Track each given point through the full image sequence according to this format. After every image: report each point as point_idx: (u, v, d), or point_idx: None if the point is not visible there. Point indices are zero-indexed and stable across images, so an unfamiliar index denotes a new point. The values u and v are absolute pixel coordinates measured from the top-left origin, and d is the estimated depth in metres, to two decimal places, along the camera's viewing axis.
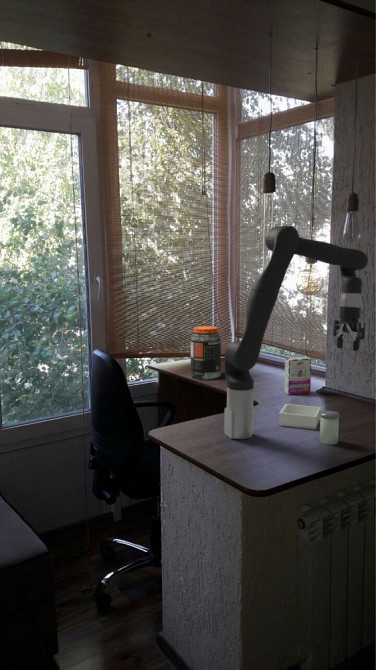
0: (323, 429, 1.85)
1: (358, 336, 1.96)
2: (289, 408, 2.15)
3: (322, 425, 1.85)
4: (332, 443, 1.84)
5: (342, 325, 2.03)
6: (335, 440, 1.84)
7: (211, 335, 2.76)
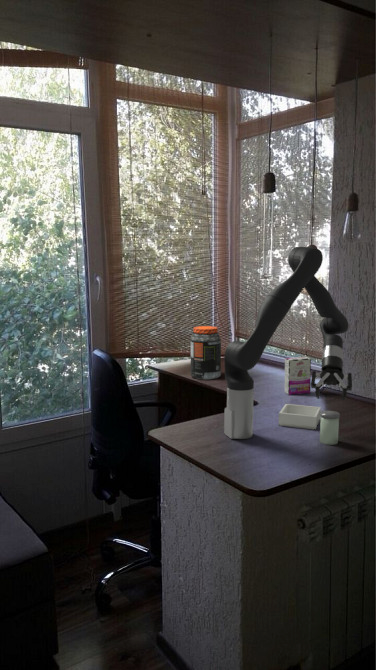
0: (323, 429, 1.85)
1: (350, 384, 1.94)
2: (289, 408, 2.15)
3: (322, 425, 1.85)
4: (332, 443, 1.84)
5: (327, 374, 1.97)
6: (335, 440, 1.84)
7: (211, 335, 2.76)
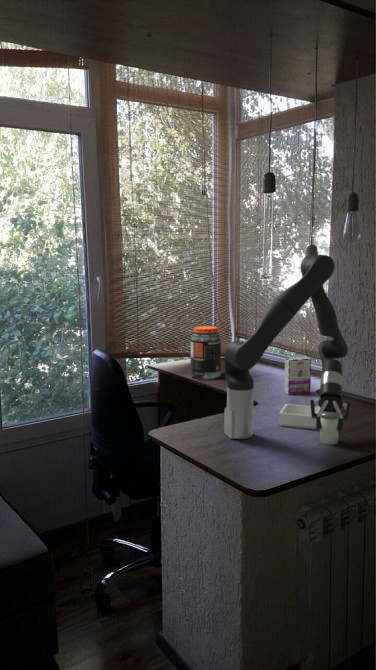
0: (323, 429, 1.85)
1: (347, 414, 1.85)
2: (289, 408, 2.15)
3: (322, 425, 1.85)
4: (332, 443, 1.84)
5: (326, 402, 1.89)
6: (335, 440, 1.84)
7: (211, 335, 2.76)
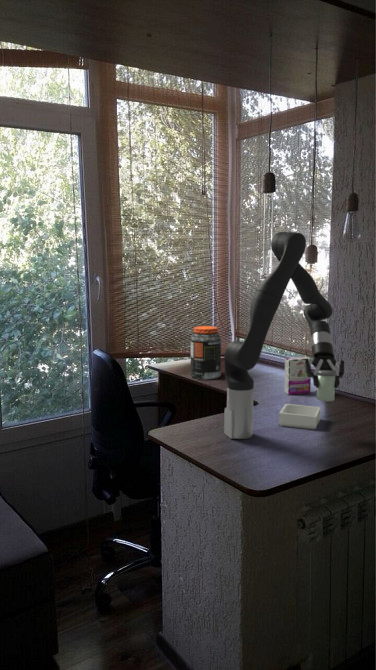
0: (321, 386, 1.89)
1: (342, 371, 1.91)
2: (289, 408, 2.15)
3: (320, 382, 1.89)
4: (330, 400, 1.89)
5: (321, 361, 1.93)
6: (333, 397, 1.89)
7: (211, 335, 2.76)
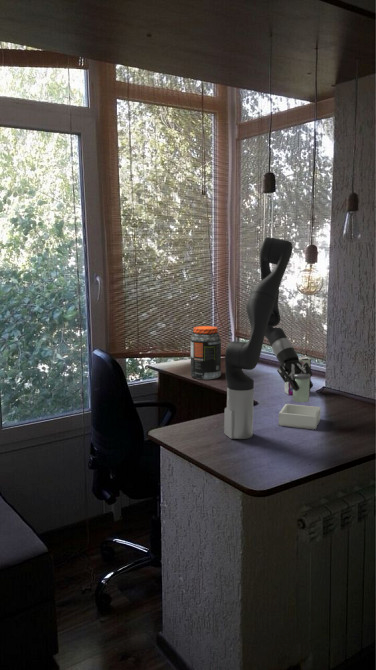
0: (301, 389, 2.04)
1: (310, 373, 2.09)
2: (289, 408, 2.15)
3: (300, 386, 2.03)
4: (308, 400, 2.05)
5: (293, 365, 2.08)
6: None
7: (211, 335, 2.76)
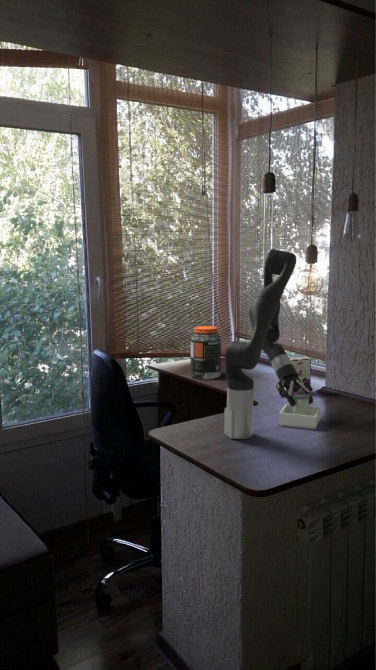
0: (301, 409, 2.05)
1: (311, 388, 2.11)
2: (289, 408, 2.15)
3: (299, 406, 2.05)
4: None
5: (292, 382, 2.08)
6: None
7: (211, 335, 2.76)
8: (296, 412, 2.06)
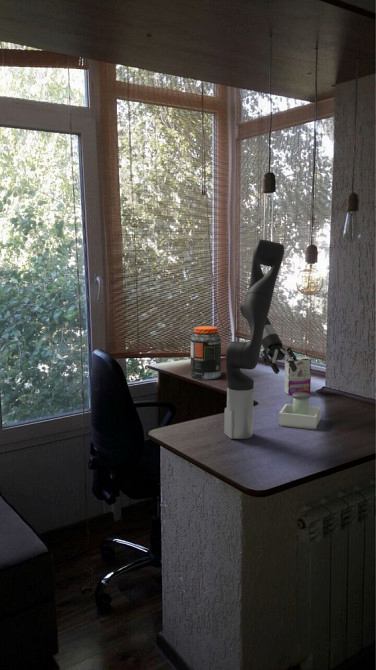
0: (301, 409, 2.05)
1: (295, 357, 2.18)
2: (289, 408, 2.15)
3: (299, 406, 2.05)
4: None
5: (276, 350, 2.15)
6: None
7: (211, 335, 2.76)
8: (296, 412, 2.06)
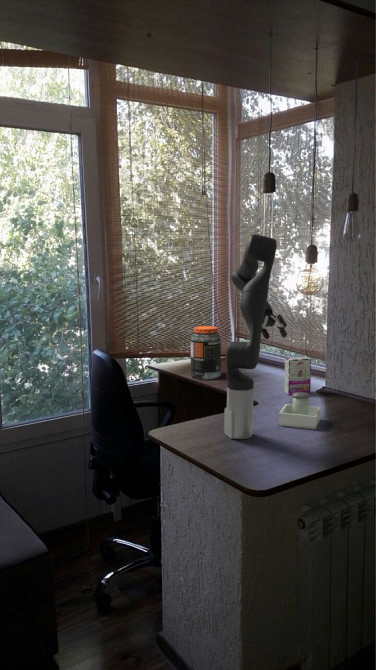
0: (301, 409, 2.05)
1: (285, 323, 2.22)
2: (289, 408, 2.15)
3: (299, 405, 2.05)
4: None
5: (266, 317, 2.19)
6: None
7: (211, 335, 2.76)
8: (296, 412, 2.06)
